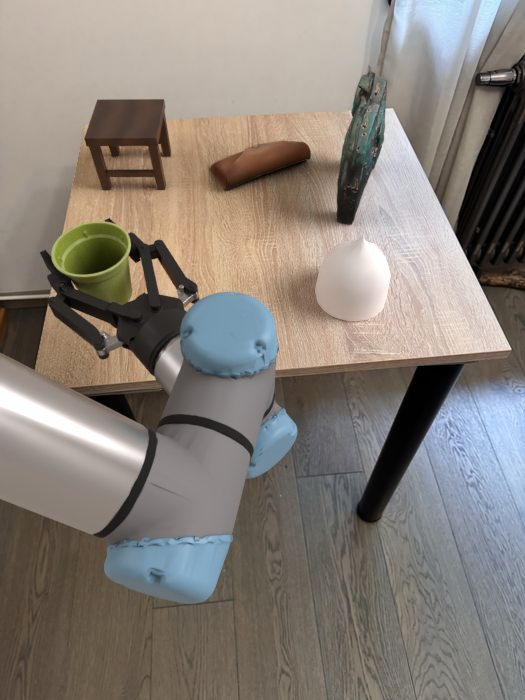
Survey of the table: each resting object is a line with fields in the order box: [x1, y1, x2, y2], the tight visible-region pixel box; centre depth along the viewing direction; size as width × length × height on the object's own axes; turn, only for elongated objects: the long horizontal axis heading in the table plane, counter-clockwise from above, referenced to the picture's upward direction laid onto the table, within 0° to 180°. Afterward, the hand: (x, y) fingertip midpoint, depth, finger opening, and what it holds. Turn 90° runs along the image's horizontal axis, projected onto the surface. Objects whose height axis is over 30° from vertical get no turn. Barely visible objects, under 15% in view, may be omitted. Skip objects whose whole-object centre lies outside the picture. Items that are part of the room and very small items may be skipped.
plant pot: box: [50, 220, 133, 305], centre depth 64 cm, size 9×9×9 cm
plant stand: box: [83, 98, 172, 191], centre depth 92 cm, size 12×12×10 cm
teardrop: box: [314, 234, 392, 323], centre depth 73 cm, size 11×11×12 cm
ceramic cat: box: [335, 65, 388, 225], centre depth 84 cm, size 20×6×20 cm, turn 164°
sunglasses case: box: [210, 140, 312, 191], centre depth 95 cm, size 18×7×7 cm
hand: (78, 242), depth 65 cm, fingers closed on plant pot, 8 cm apart
